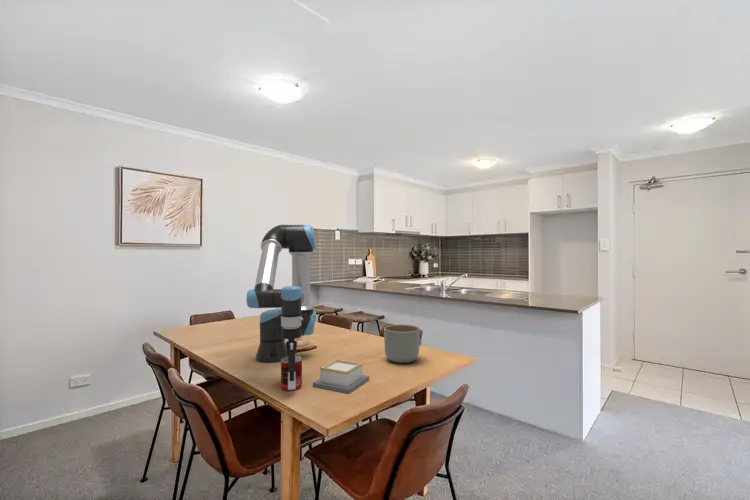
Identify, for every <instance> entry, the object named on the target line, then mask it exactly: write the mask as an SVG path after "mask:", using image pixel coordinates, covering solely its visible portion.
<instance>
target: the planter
mask: <svg viewBox="0 0 750 500" xmlns="http://www.w3.org/2000/svg"><path fill="white" fill-rule="evenodd" d="M420 332H421V328H420V327H419V326H416V325H414V324H413V325H412V324H402V323H401V324H388V325H386V326H384V327H383V338H384V343H383V344H384V354H385V355H386V357H387V359H388V360H389V361H391V362H392V363H396V364H408V363H412V362H414V361H415V360H416V359H417V358H418V356H419V354H420V340H421V339H420V338H421V337H420V336H421V335H420Z"/></svg>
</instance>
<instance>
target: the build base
mask: <svg viewBox="0 0 750 500" xmlns="http://www.w3.org/2000/svg"><path fill="white" fill-rule="evenodd" d="M319 369H320V370H319V379H317V380H316V381H314V382H312V387H313V388H317V389H323V390H329V391H333V392H338V393H344V394H351V393H352V392H353V391H355V390H357V389H358V388H360V387H361V386H362V385H364V384H365V383H367V382H369V380H370V375H365V374H363V363H362V362H358V361H351V360H345V359H337V358H336V359H334V360H332V361H331V362H328V363H326V364H324V365H322V366H321V367H320V368H319Z"/></svg>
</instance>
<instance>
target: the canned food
mask: <svg viewBox="0 0 750 500" xmlns="http://www.w3.org/2000/svg"><path fill="white" fill-rule="evenodd" d="M295 369H296V389H291V390H288V372H286V370H288V356H286V357H284V358H282V359H281V361H280V385H281V390H283V391H286V392H288V391H289V392H291V391H296V390H297V391H298V390H299V389H301V387H302V385H303V358H302V356H300V355H295Z"/></svg>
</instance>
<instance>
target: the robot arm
mask: <svg viewBox="0 0 750 500" xmlns="http://www.w3.org/2000/svg"><path fill="white" fill-rule="evenodd" d="M315 237H316V235H315V231H314V227H313V226H312V225H311V224H309V225H308V224H279V225H275V226H273V227H272V228H271V229H269V230H268V231H267V232H266V234H265V235H264V236H263V238H262V241H261V244H260V249H261V254H260V255H261V256H260V260H259V264H258V269H257V274H256V278H255V284H254V288H253V289H249V290H247V293H246V305H247V306H246V307H248V308H250V309H269V310H264V311H263V312H262V313H261V314H260V316H259V345H258V348H257V352H256V354H255V360H256V361H257V360H258V361H257V362H260V363H261V362H262V363H276V362H281V359H282V358H284V357H286V356H288V370H286V372H288V390H291V389H296V369H295V356H296V354H297V347H298V343H297V340H295V339H299V338H301V337H305V336H311V335H313V334H314V331H315V325H316V318H317V317H316V315H317V311H316V310H314V307H313V306H312V305H311V261H310V260H311V255H312V254H313V253H314V250H316V248H317V244H316V238H315ZM283 249H284V250H288V253H289V254H290V256H291V285H287V286H283V287H281V289H279V288H278V289H277V288H274V287H275V281H276V274H277V267H278V262H279V254H280V253H281V252H282V250H283ZM271 308H273V309H271ZM285 340H287V341H285Z"/></svg>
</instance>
